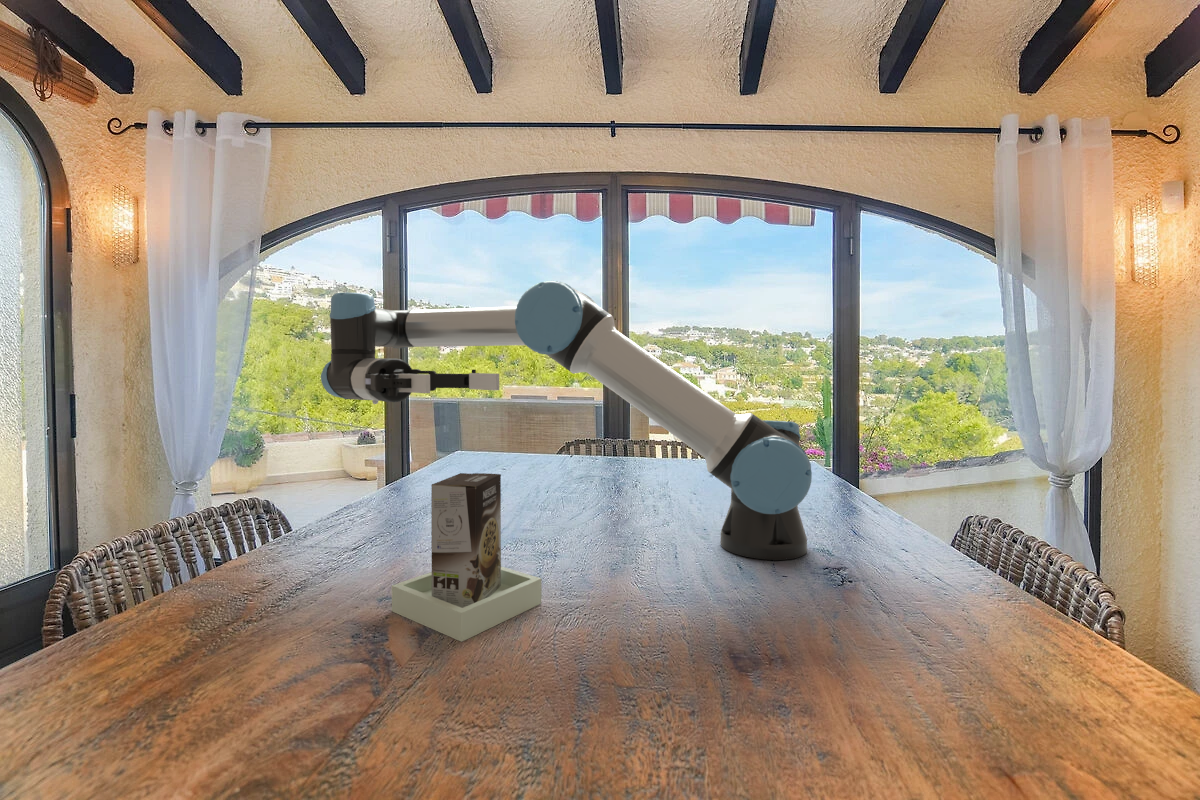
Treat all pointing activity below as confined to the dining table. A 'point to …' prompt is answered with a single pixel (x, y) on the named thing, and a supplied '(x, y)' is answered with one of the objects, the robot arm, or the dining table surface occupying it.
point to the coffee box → (466, 538)
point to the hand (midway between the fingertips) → (465, 382)
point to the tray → (473, 619)
